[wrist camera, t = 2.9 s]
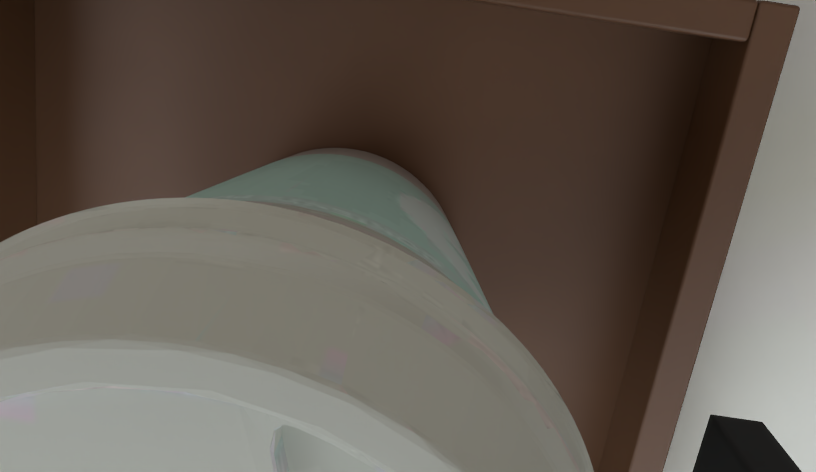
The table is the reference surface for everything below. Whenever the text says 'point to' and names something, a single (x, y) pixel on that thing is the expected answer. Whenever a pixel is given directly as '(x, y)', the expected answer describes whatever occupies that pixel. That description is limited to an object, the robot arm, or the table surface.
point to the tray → (440, 149)
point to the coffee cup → (267, 336)
